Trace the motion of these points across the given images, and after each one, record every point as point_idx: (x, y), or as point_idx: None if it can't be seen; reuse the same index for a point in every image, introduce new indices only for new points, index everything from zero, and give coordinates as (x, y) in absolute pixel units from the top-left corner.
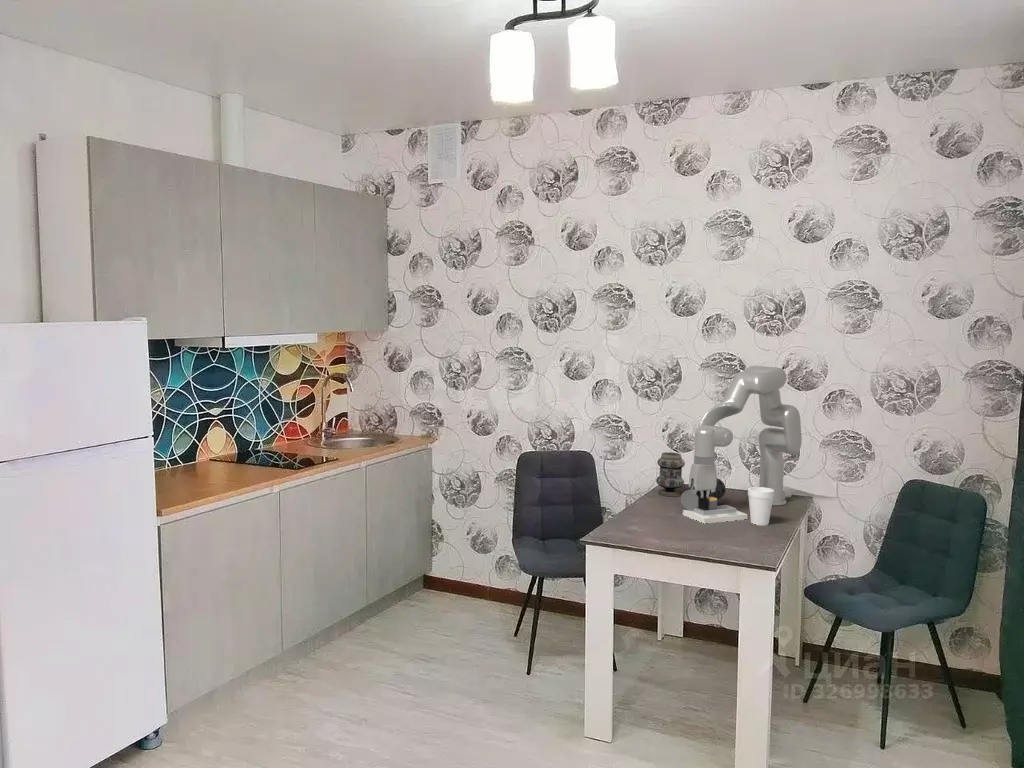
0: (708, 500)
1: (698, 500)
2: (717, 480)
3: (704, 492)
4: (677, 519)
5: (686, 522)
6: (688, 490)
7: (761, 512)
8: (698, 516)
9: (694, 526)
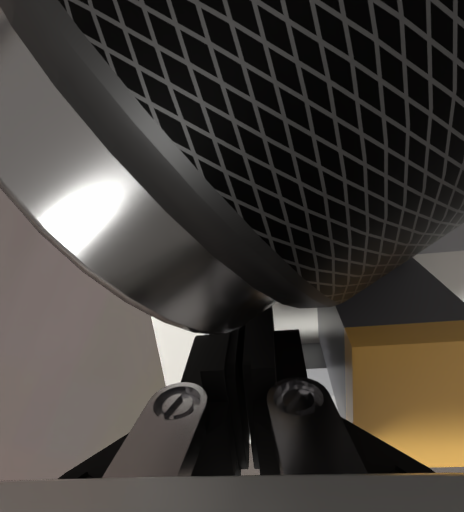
0: (343, 398)
1: (186, 372)
2: None
3: (314, 463)
4: (29, 252)
5: (73, 347)
6: (3, 191)
7: None
8: (164, 377)
9: (91, 441)
